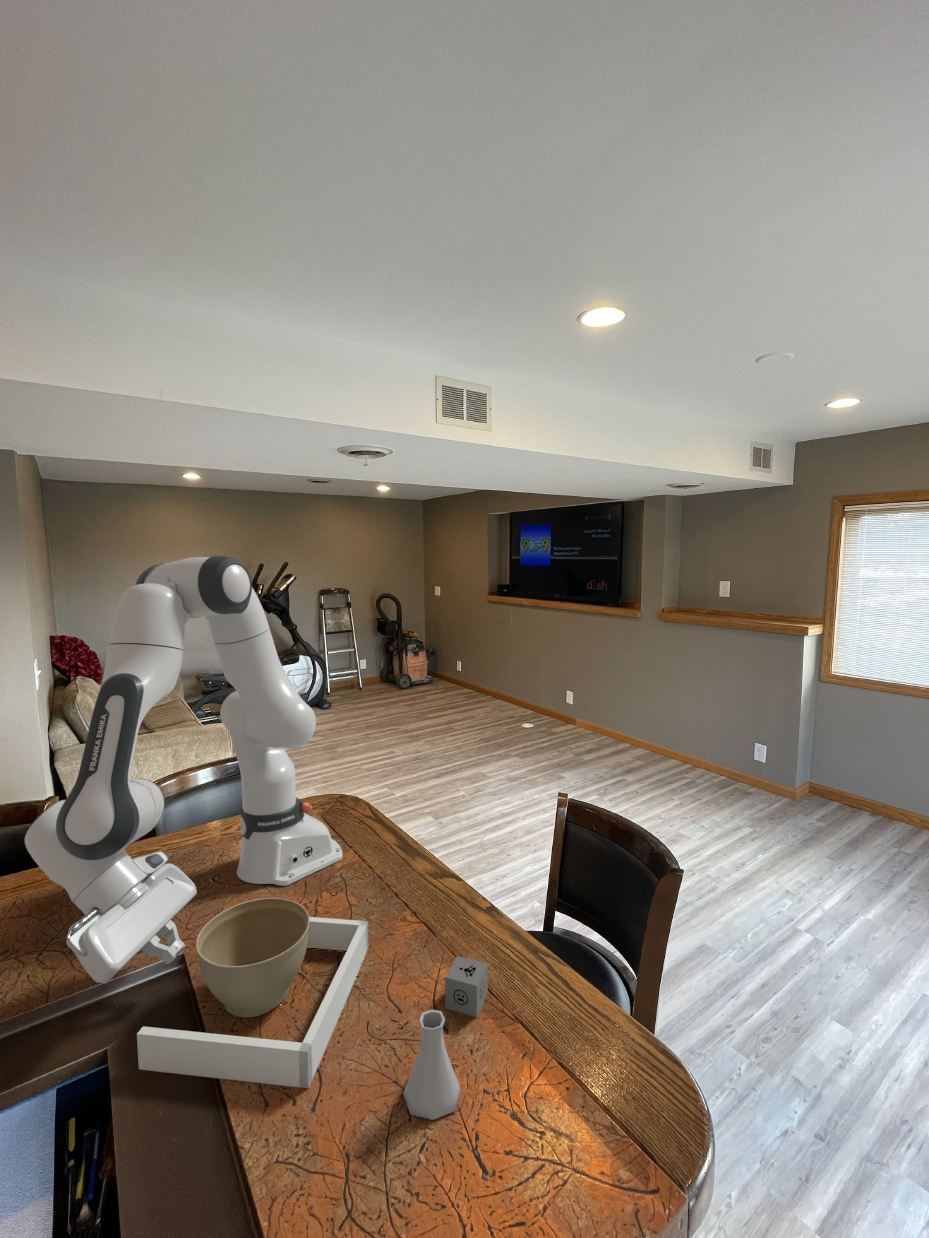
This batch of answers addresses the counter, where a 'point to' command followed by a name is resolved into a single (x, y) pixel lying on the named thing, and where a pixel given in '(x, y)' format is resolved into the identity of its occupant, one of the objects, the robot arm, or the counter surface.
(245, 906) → the planter bowl
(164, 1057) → the box
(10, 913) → the counter surface
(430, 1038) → the flask
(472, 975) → the dice cube
